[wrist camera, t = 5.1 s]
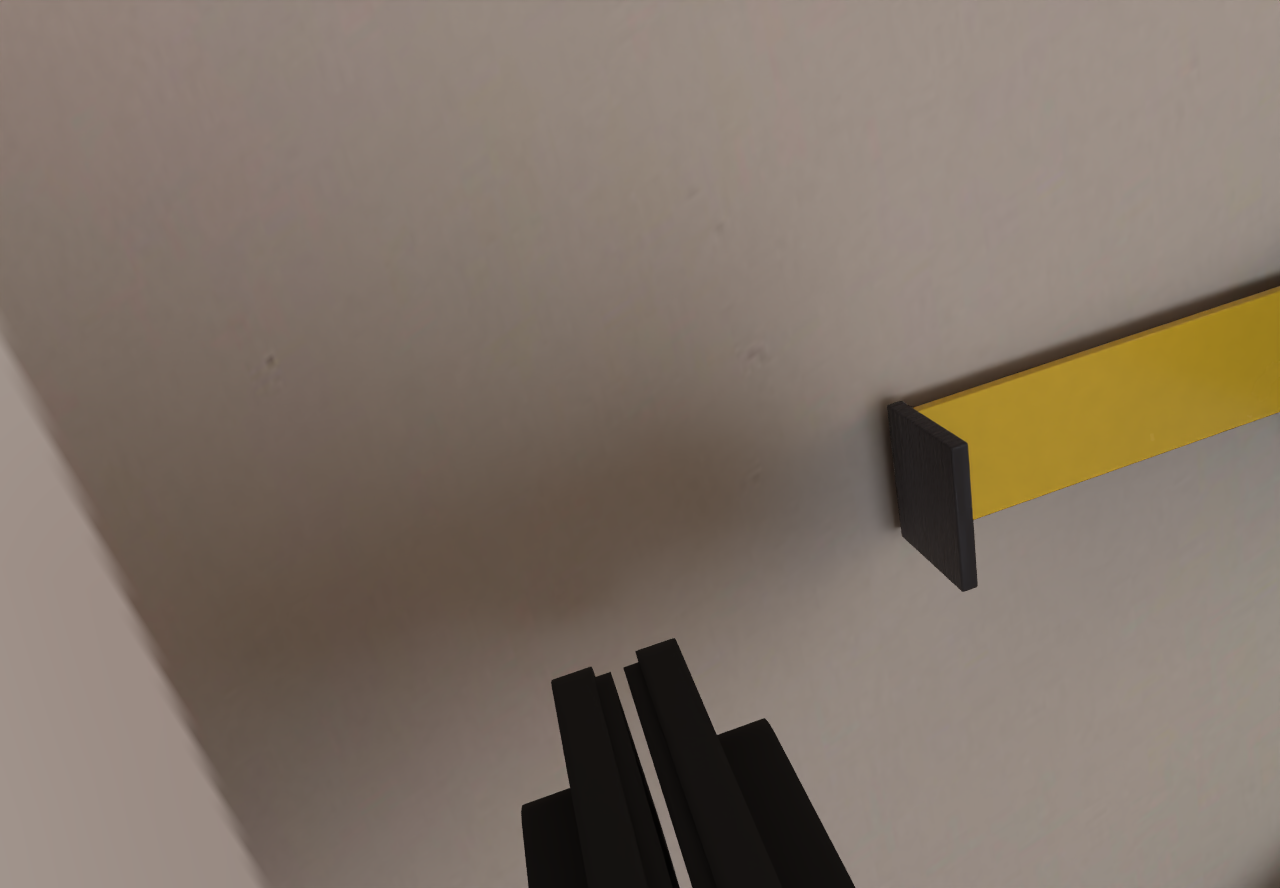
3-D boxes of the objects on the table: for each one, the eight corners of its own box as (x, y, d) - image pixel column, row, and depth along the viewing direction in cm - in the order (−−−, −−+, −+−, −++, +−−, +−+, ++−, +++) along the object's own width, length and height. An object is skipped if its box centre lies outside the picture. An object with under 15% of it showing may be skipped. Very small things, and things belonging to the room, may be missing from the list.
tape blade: (901, 536, 15) (962, 593, 14) (886, 404, 14) (951, 448, 12) (1330, 385, 17) (1440, 419, 15) (1350, 251, 15) (1471, 271, 14)
